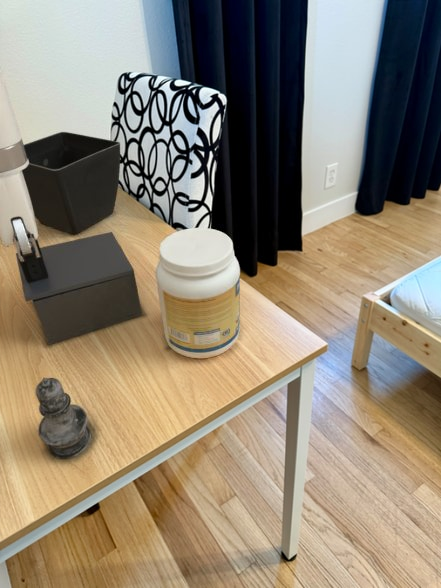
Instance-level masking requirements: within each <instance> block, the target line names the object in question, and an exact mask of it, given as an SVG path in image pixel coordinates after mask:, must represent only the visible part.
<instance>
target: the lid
mask: <svg viewBox="0 0 441 588" xmlns="http://www.w3.org/2000/svg"><path fill="white" fill-rule="evenodd" d="M29 244H30V246H31V247H33V245H32V242H31V243H29ZM40 250H41V253H42V256H43V260H44V263H45V267H46V270H47V273H48V278H45V279H42V280H38V281H34V282H30V283H28V282H27V281H26V278H25V276H24V273H23V270H22V268H21V265H20V262H19V259H20V258H19V255H18V252H15V257H16V262H17V267H18V272H19V276H20V282H21V287H22V292H23V296H24V300H25V302H26V303H27V302H33V301H32V300H35V299H39V298H43V297H47V296H51V295H54V294H58V293H62V292H66V291H70V290H74V289H77V288H81V287H85V286H89V285H93V284H96V283H100V282H104V281H108V280H112V279H116V278H119V277H123V276H127V275H131V274H135V269H134V267H133V266H132V264H131V262H130V261H129V258H128V257H127V256H126V254H125V251H124V250H123V248H122V247H121V245H120V243H119V241H118V240H117V238H116V236H115V234H114V233H113V231H109V232H105V233H101V234H95V235H92V236H87V237H83V238H78V239H73V240H67V241H63V242H60V243H55V244H51V245H46V246H42V247H41V246H40Z"/></svg>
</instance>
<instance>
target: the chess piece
mask: <svg viewBox="0 0 441 588" xmlns="http://www.w3.org/2000/svg"><path fill="white" fill-rule="evenodd" d="M34 391H35V396H36V398H37V401H38V403H39V406H38V411H39V413H40V415H41V416H43V417H42V418H41V419H40V422H39V424H38V429H37V433H38V436H39V438H40V440H41V441H42V442H43V443H44V444H47V445H48V446H47V447H48V451H49V452H50V454H51V455H52V456H53V457H54V458H56V459H58V460H69V459H73V458H75V457H78V456H79V455H80V454H82V453H83V452H84V451H85V450H87V448H88V446H89V445H90V443H91V440H92V433H91V429H90V428H89V426H88V421H89V417H88V413H87V411H86V410H85V409H84V408H83V407H82V406H80V405H78V404H72V403H71V401H72V399H71V396H70V395H69V394H68V393H67V392H65V391H64V387H63V384H62V382H61V381H60V379H58V378H55V377H43V378H42V379H41V381H39V383H37V385H36V387H35V390H34Z"/></svg>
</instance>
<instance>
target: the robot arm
mask: <svg viewBox="0 0 441 588" xmlns="http://www.w3.org/2000/svg"><path fill="white" fill-rule="evenodd" d="M24 145H25V144H24V142H23V138H22V134H21V132H20V128H19V124H18V122H17V118H16V114H15V111H14V108H13V104H12V101H11V98H10V95H9V92H8V89H7V85H6V82H5V79H4V76H3V71H2V69H1V68H0V240H1V243H2V245H3V246H4V247H6V248H8V247H9V246H13V245H14V246H15V249H16V253H18V255H19V258H20V259H19V262H20V265H21V268H22V270H23V273H24V276H25V278H26V281H27V282H28V283H30V282H34V281H38V280H42V279H45V278H48V273H47V270H46V267H45V263H44V260H43V256H42V253H41V250H40V248H41V246H40V244H39V241H38V238H39V231H38V226H37V222H36V217H35V216H34V211H33V207H32V203H31V200H30V196H29V192H28V189H27V186H26V182H25V179H24V176H23V173H22V170H23V169H25V168H26V167H27V166H28V165H29V161H28V158H27V154H26V151H25V148H24ZM31 242H32V245H33V247H31V246H30V244H29V243H31Z"/></svg>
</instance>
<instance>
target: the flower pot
mask: <svg viewBox="0 0 441 588" xmlns="http://www.w3.org/2000/svg"><path fill="white" fill-rule="evenodd" d="M24 148H25V151H26V154H27V158H28V161H29V165H28V166H27V167H26V168H25V169H23V170H22V173H23V176H24V179H25V182H26V186H27V189H28V192H29V196H30V200H31V203H32V207H33V211H34V216H35V220H37V221H38V222H39V224H43V225H46V226H49V227H51V228H54V229H58V230H60V231H63V232H67V233H69V234H73V235H77V234H79V233H82V232H83V231H85V230H87V229H89V228H90V227H92V226H94V225H96V224H97V223H99V222H100V221H102V220H104V219H106V218H107V217H109V216H111V215H112V214H113V213H114V211H115V206H116V201H117V195H118V190H119V182H120V172H121V171H120V169H121V142H120V141H117V140H111V139H106V138H100V137H95V136H89V135H84V134H81V133H80V134H79V133H74V132H69V131H68V132H67V131H60V132H57V133H54V134H50V135H48V136H45V137H42V138H39V139H36V140H33V141H31V142H28V143H25V144H24Z"/></svg>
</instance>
